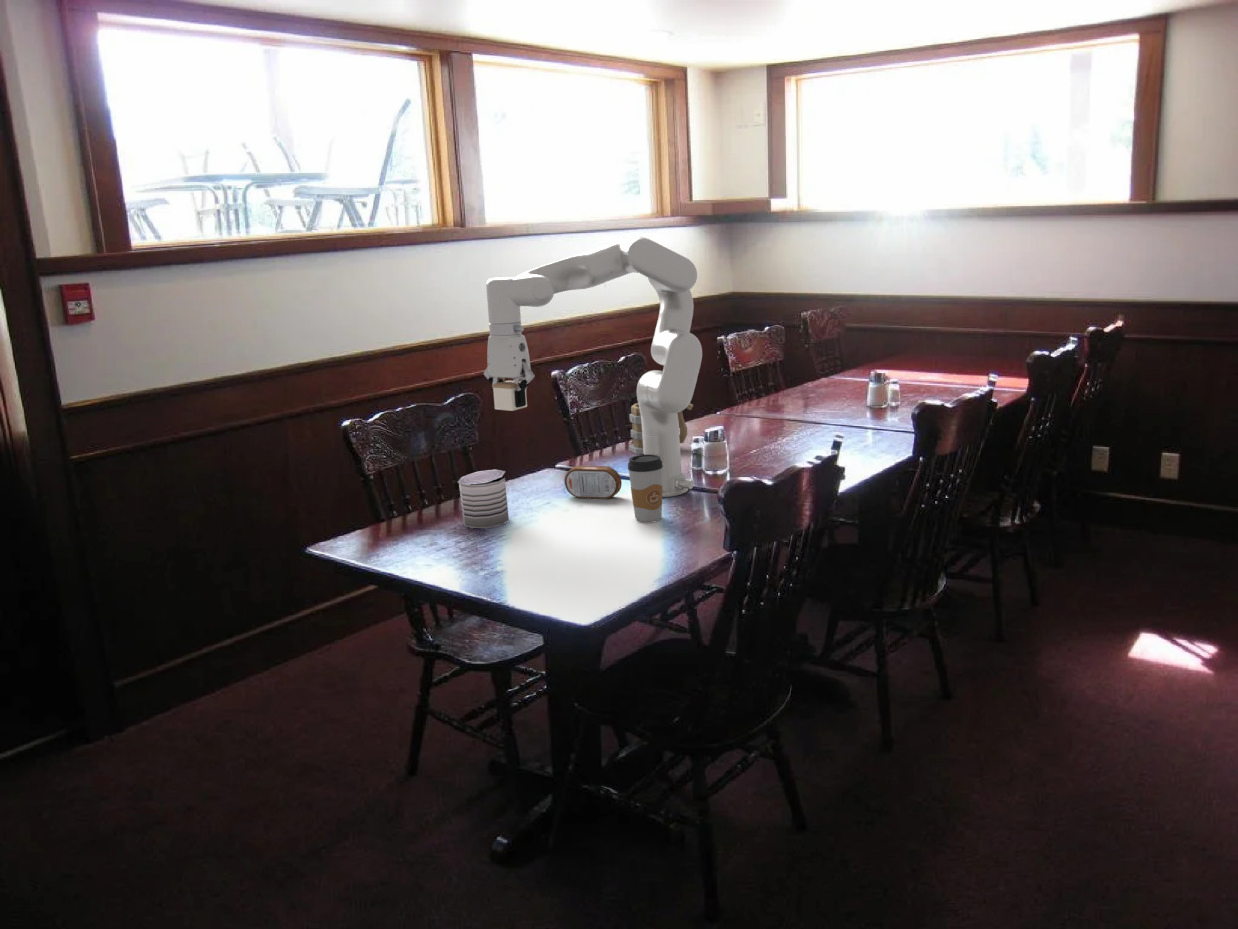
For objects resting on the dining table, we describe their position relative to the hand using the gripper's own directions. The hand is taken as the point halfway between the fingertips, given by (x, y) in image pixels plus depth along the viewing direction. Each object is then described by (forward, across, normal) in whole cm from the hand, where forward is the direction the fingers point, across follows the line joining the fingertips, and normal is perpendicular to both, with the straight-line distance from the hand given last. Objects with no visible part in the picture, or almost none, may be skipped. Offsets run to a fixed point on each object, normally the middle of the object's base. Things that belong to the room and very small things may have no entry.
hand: (510, 404), depth 256 cm
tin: (+28, -7, -22) cm, 36 cm away
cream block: (+1, 0, 0) cm, 1 cm away
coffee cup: (+28, -30, -12) cm, 43 cm away
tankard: (+27, +5, -73) cm, 78 cm away
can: (+29, +6, +6) cm, 30 cm away
